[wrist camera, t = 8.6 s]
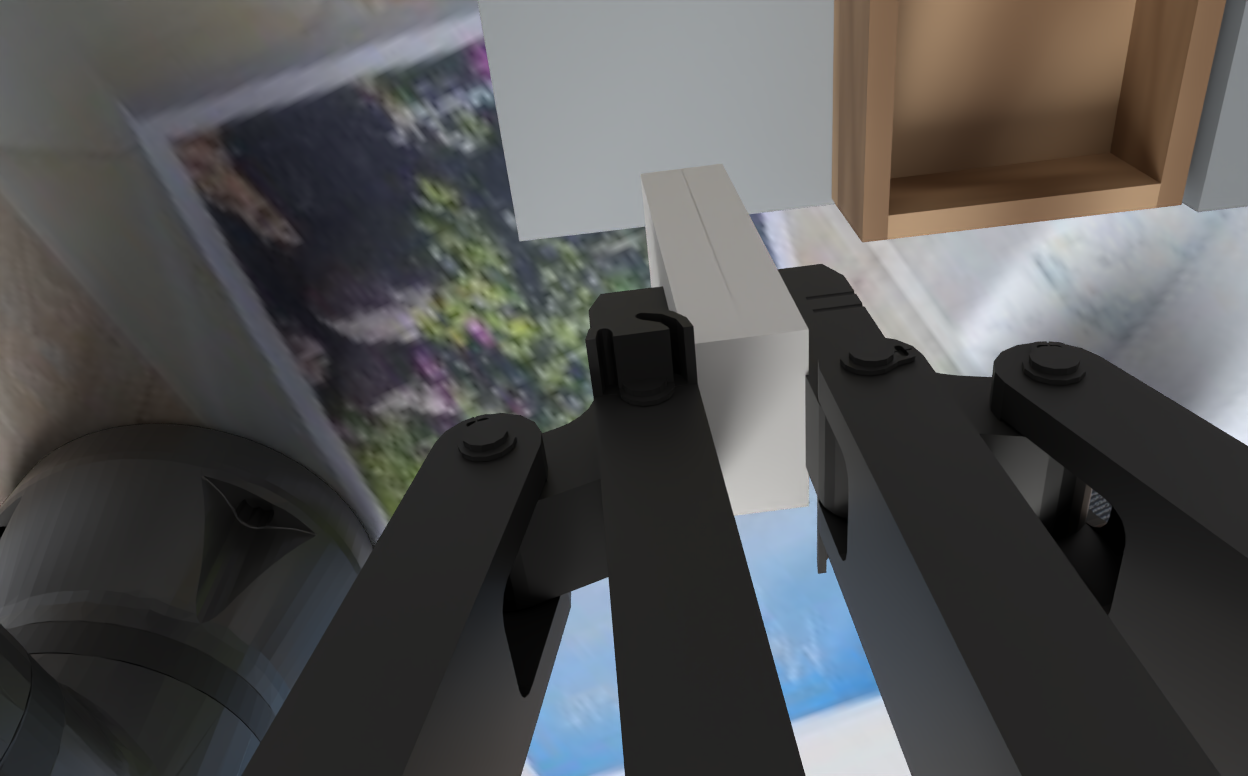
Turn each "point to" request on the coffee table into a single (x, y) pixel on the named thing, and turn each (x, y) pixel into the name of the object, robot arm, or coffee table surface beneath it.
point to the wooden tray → (1013, 109)
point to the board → (724, 105)
